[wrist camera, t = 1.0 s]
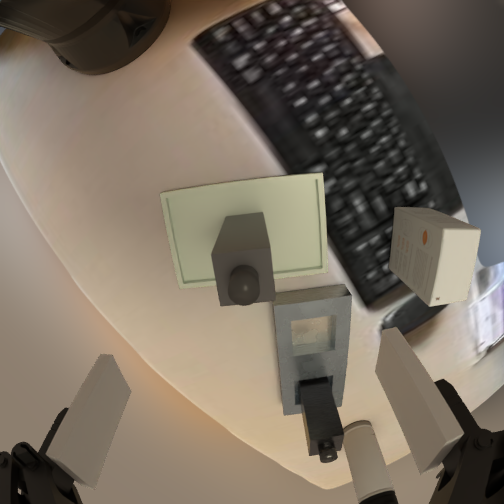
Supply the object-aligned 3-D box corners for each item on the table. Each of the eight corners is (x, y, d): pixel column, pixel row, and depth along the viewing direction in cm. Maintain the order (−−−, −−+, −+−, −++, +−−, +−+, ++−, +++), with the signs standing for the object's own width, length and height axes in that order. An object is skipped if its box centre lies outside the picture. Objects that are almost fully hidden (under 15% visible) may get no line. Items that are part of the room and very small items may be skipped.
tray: (162, 192, 30) (159, 193, 29) (319, 172, 29) (322, 173, 28) (181, 284, 33) (179, 289, 32) (325, 268, 33) (327, 272, 32)
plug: (225, 216, 30) (206, 265, 17) (263, 211, 30) (272, 258, 17) (230, 251, 32) (217, 321, 18) (267, 247, 31) (278, 315, 18)
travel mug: (377, 418, 43) (407, 500, 24) (362, 437, 46) (386, 514, 27) (349, 419, 43) (375, 509, 24) (335, 438, 45) (355, 522, 26)
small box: (421, 266, 33) (466, 302, 23) (386, 268, 33) (428, 309, 23) (429, 206, 30) (483, 229, 20) (393, 205, 30) (444, 228, 20)
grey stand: (271, 293, 34) (284, 381, 20) (344, 284, 34) (393, 361, 20) (282, 401, 40) (290, 480, 26) (337, 393, 40) (359, 467, 26)
